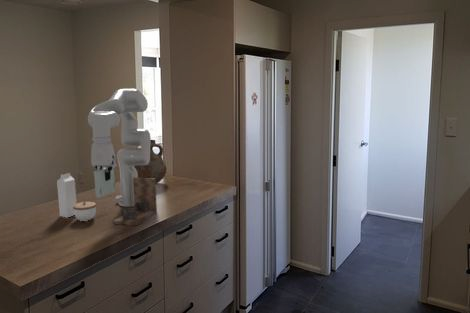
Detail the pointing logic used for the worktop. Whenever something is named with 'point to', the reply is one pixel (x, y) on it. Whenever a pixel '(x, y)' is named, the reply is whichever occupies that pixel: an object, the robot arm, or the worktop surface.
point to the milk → (66, 195)
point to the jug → (153, 165)
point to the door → (103, 183)
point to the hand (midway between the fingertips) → (105, 179)
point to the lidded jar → (84, 210)
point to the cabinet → (140, 202)
